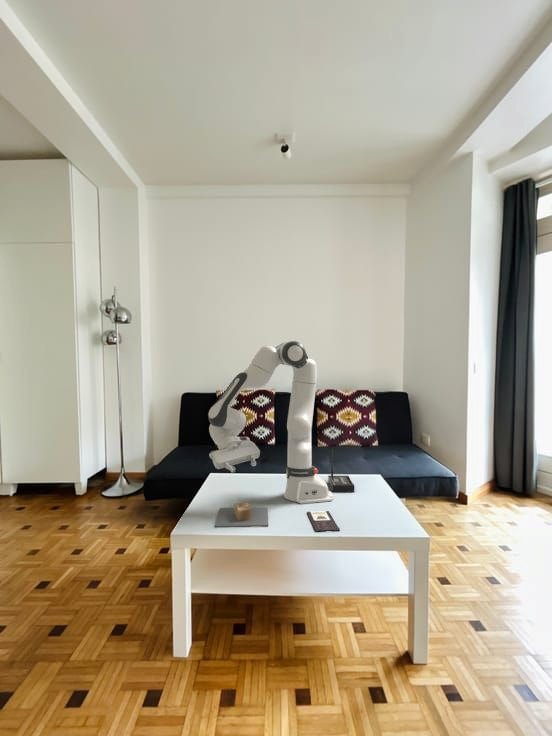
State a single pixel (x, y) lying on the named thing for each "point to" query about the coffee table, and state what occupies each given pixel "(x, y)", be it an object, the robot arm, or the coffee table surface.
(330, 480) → the wireless controller
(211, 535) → the coffee table surface
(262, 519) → the charcoal mat
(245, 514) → the oak block
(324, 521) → the chocolate bar
